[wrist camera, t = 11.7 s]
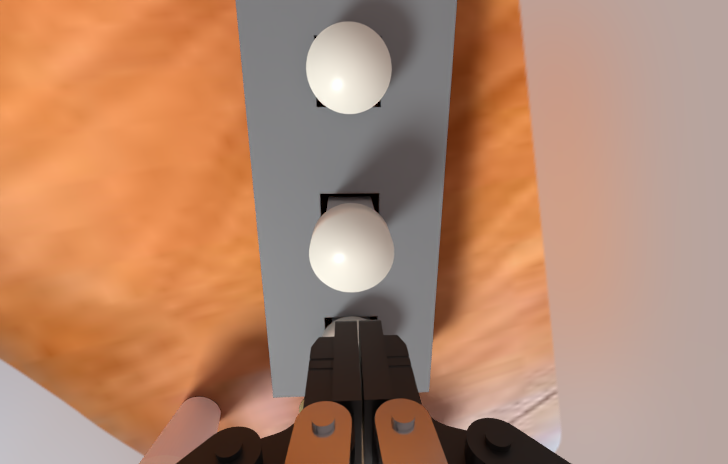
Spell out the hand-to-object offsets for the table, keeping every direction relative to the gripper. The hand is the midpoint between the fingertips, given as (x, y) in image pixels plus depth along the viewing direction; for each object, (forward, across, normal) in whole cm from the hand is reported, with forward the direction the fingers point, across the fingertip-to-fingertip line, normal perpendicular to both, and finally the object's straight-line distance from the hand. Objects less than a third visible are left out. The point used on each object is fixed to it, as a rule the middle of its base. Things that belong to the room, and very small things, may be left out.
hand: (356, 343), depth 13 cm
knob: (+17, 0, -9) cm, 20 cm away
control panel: (+18, 0, 0) cm, 18 cm away
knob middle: (+14, 0, 0) cm, 14 cm away
